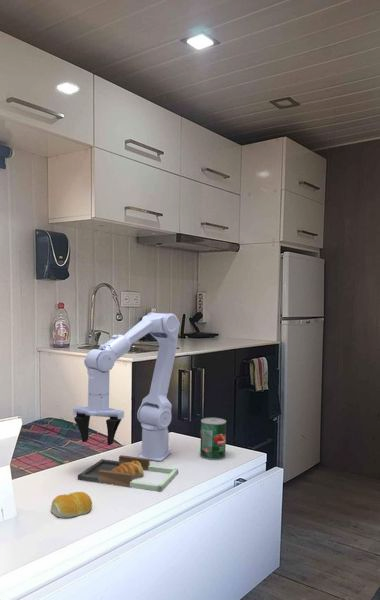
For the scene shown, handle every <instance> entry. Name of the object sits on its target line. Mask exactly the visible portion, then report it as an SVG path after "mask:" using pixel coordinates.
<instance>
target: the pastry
mask: <svg viewBox="0 0 380 600" xmlns="http://www.w3.org/2000/svg"><path fill="white" fill-rule="evenodd" d="M111 471H114V472H121V473H129V474H132V480H136V479H138V478H139V479H140V478H142V477H143V476H144V474H145V473H144V470H143V468H142V466H141V463H140V462H138V461H132V462H127V463H122V464H120V465H119V466H118V467H115V468H113V469H112V470H111Z"/></svg>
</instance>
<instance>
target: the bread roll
mask: <svg viewBox="0 0 380 600" xmlns="http://www.w3.org/2000/svg"><path fill="white" fill-rule="evenodd" d="M92 507H93V502H92V498H91V496H90V495H88V494H87V493H86V492H84V491H76V492H71V493H70V492H69V493H68V494H59V495H57V496H56V497H54V499H53V500H52V502H51V505H50V511H51V513H52V514H53V515H54V516H55V517H58V518H61V519H62V518H63V519H64V518H66V519H67V518H68V519H69V518H75V517H79V516H83V515H85V514H88V513H90V512H91V509H92Z"/></svg>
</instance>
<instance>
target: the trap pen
mask: <svg viewBox="0 0 380 600" xmlns="http://www.w3.org/2000/svg"><path fill="white" fill-rule="evenodd" d="M118 466H119V460H111V459H103V458H101V459H100V460H98V461H96V462H95V463H94V464H93V465H91V466H90V467H88V468H86V469H85V470H83V471H82V472H80V473H78V474H77V480H78V481H84V482H89V483H90V482H91V483H97V484H98V471H99V470H106V471H111V470H112V469H113V468H115V467H118Z"/></svg>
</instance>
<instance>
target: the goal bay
mask: <svg viewBox="0 0 380 600" xmlns="http://www.w3.org/2000/svg"><path fill="white" fill-rule="evenodd" d="M148 472H155V473H162V474H168V475H167V476H166V477H164V479H163V480H162V481H161V482H160V483H159V484H157V483H150V482H144V481H137V480H132V481H131V482H130V487H129V488H132V487H133V488H135V489H139V488H140V490H147V489H148V491H154V490H155V491H154V492H162V491H163V490H164V489H165V488H166V487H167V486H168V485H169V484H170V483H171V481H172V480H173V479H174V478H175V477H176V476H177V474H179V468H175V467H167V466H160V465H151V464H150V465H149V466H148Z"/></svg>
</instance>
